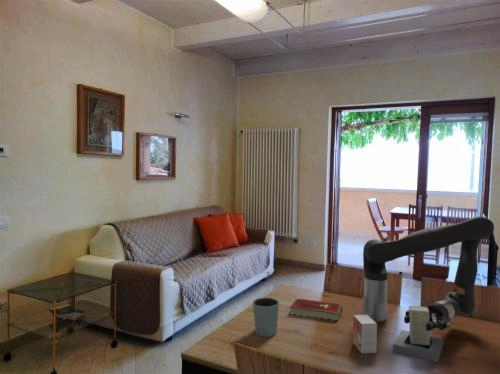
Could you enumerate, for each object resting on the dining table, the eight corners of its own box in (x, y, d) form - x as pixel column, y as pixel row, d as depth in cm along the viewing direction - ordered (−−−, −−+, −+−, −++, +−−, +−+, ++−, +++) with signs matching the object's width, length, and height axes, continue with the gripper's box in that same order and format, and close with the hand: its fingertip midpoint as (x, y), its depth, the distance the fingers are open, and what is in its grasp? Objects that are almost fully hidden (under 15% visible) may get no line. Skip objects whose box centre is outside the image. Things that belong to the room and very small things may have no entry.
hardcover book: (296, 306, 171) (296, 297, 171) (342, 312, 163) (342, 303, 163) (289, 315, 160) (289, 306, 160) (338, 322, 152) (338, 312, 152)
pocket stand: (392, 351, 126) (393, 344, 126) (401, 336, 138) (401, 329, 138) (438, 362, 118) (438, 355, 118) (442, 345, 130) (442, 339, 130)
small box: (352, 343, 132) (352, 314, 132) (367, 342, 133) (367, 314, 132) (361, 354, 124) (361, 323, 124) (376, 353, 125) (377, 323, 125)
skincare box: (428, 340, 129) (428, 306, 129) (430, 346, 125) (429, 311, 124) (408, 338, 131) (408, 305, 131) (410, 343, 127) (409, 309, 126)
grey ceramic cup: (282, 329, 144) (282, 299, 144) (273, 339, 135) (273, 308, 135) (259, 325, 149) (259, 296, 148) (248, 334, 139) (248, 304, 139)
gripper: (420, 297, 142) (397, 307, 132) (459, 308, 130) (436, 320, 121) (420, 316, 142) (397, 327, 132) (459, 328, 131) (436, 342, 121)
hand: (416, 324), depth 126 cm, fingers closed on skincare box, 7 cm apart
